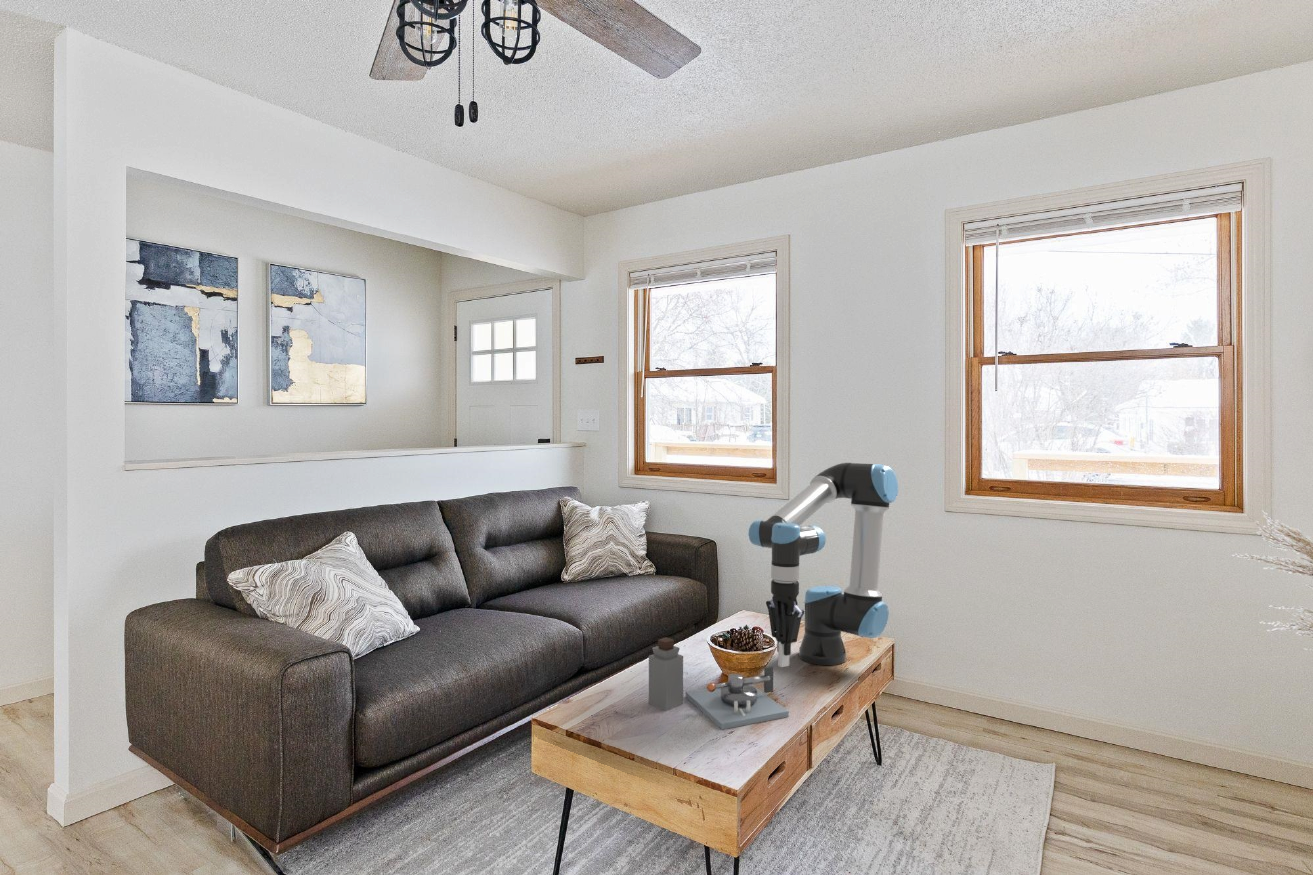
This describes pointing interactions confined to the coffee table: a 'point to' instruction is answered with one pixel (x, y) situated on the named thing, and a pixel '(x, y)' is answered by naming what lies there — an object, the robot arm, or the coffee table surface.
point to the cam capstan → (743, 687)
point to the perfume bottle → (666, 675)
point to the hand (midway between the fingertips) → (783, 665)
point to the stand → (736, 708)
